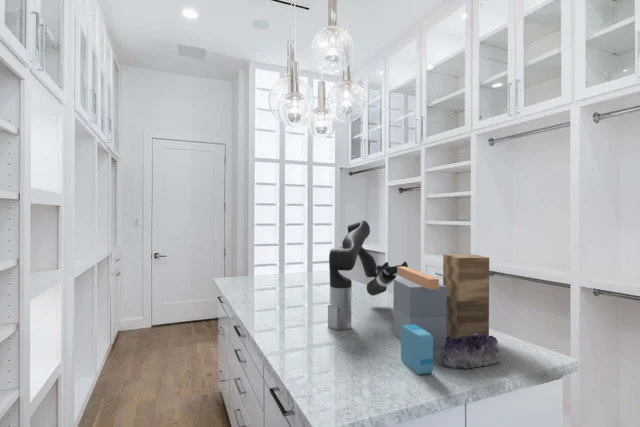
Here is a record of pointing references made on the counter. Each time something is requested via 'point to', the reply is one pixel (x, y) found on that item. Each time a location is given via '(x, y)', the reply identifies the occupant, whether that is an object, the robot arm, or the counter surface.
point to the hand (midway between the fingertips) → (396, 263)
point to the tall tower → (466, 294)
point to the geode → (470, 352)
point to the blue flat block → (417, 349)
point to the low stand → (420, 309)
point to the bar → (418, 278)
